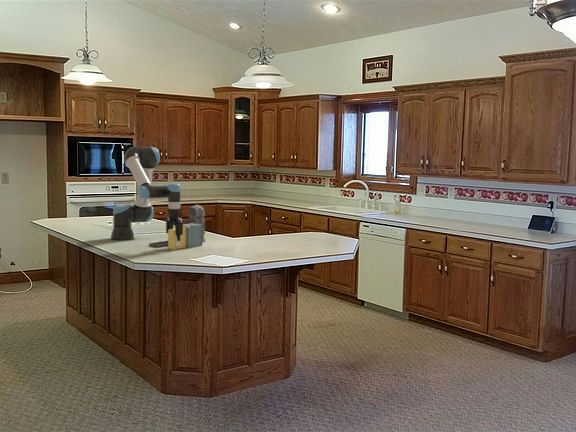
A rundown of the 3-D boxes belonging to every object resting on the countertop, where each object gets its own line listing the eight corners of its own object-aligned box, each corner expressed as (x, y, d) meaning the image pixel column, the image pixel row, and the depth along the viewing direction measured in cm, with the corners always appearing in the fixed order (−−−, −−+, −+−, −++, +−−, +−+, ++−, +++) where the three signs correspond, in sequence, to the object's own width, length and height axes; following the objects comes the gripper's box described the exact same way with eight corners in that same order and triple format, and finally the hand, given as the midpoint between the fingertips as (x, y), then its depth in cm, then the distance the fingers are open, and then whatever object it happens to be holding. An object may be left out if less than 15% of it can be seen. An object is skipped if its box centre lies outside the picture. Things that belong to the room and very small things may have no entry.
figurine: (198, 243, 401) (198, 205, 398) (185, 240, 411) (185, 204, 408) (209, 241, 408) (209, 204, 405) (196, 239, 418) (196, 203, 415)
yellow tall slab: (168, 248, 378) (168, 229, 376) (184, 245, 389) (184, 227, 387) (173, 249, 375) (173, 230, 373) (190, 246, 386) (190, 227, 384)
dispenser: (178, 246, 387) (178, 224, 386) (192, 244, 397) (192, 222, 395) (188, 247, 382) (188, 225, 380) (202, 245, 391) (202, 224, 390)
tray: (149, 246, 385) (149, 243, 385) (170, 243, 399) (170, 240, 399) (158, 247, 380) (158, 244, 380) (179, 244, 394) (179, 241, 394)
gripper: (159, 207, 378) (160, 244, 381) (179, 209, 367) (180, 247, 370) (168, 207, 384) (169, 243, 387) (188, 209, 373) (189, 246, 376)
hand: (174, 245), depth 378 cm, fingers closed on yellow tall slab, 5 cm apart
